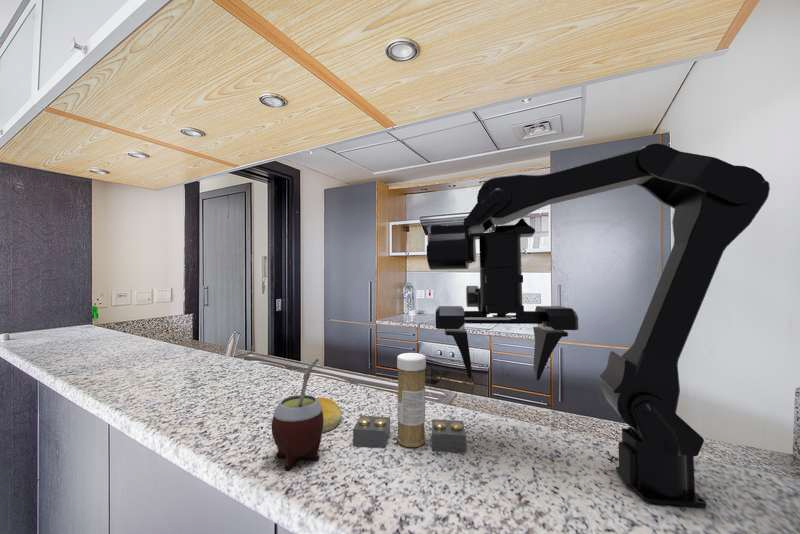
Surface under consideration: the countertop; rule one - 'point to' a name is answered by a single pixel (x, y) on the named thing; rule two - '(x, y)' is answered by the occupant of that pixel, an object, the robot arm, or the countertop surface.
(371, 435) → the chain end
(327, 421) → the bread roll
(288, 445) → the mate gourd
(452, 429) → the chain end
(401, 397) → the sprinkles bottle
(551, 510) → the countertop surface
